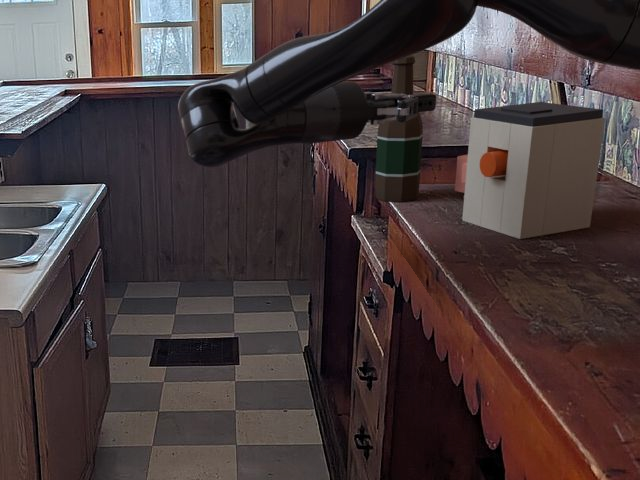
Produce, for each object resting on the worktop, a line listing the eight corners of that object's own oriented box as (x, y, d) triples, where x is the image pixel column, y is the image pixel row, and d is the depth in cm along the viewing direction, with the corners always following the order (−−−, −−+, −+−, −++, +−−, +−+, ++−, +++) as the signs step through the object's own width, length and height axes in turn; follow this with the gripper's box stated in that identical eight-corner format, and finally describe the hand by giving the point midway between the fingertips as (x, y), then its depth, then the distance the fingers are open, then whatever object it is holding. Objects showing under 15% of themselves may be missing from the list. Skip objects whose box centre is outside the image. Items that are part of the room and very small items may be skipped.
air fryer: (528, 210, 141) (540, 99, 134) (589, 227, 130) (607, 107, 123) (462, 220, 137) (471, 107, 130) (519, 239, 126) (533, 116, 119)
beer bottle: (403, 204, 149) (411, 58, 140) (365, 199, 154) (371, 57, 145) (427, 196, 154) (437, 54, 144) (390, 191, 159) (397, 53, 150)
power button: (500, 172, 131) (502, 147, 129) (516, 175, 128) (519, 151, 126) (478, 175, 129) (480, 150, 128) (494, 179, 126) (497, 154, 125)
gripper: (351, 87, 108) (466, 76, 113) (299, 80, 119) (406, 70, 124) (348, 148, 111) (461, 135, 116) (298, 135, 122) (402, 123, 127)
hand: (432, 101), depth 120 cm, fingers closed
